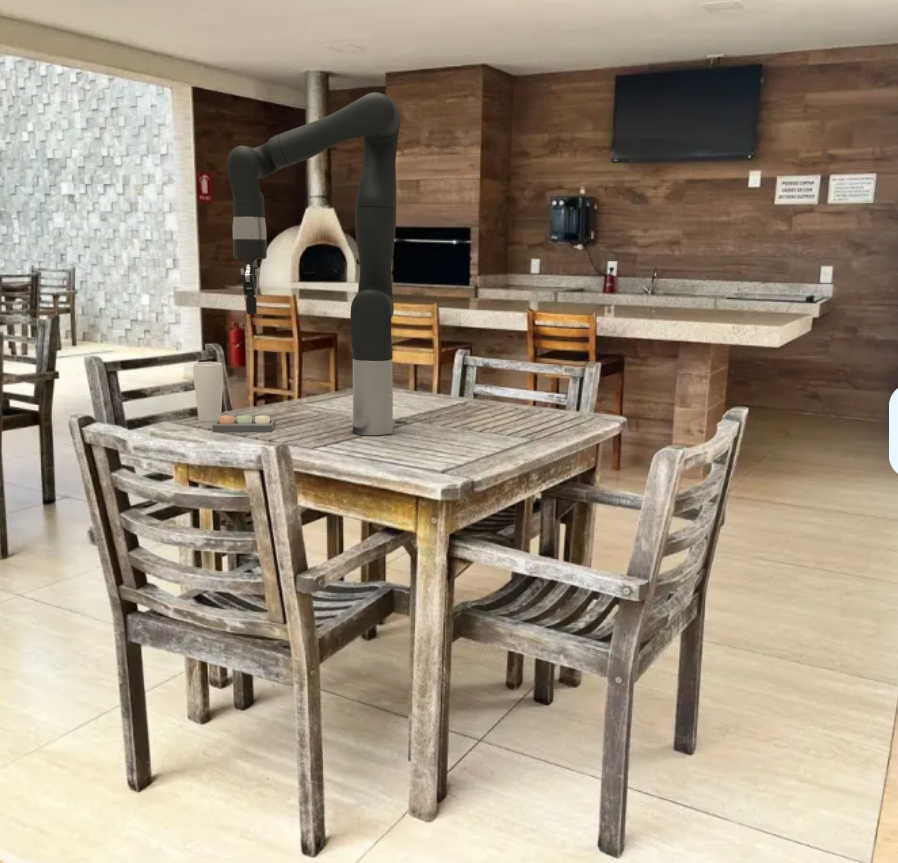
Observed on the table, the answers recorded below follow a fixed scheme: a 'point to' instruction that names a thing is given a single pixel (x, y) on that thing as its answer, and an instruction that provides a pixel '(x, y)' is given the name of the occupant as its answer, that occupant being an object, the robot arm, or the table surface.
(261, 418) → the button cream
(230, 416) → the button terracotta
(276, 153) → the robot arm
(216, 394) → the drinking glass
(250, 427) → the dark grey tray
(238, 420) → the button sage
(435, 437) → the table surface
